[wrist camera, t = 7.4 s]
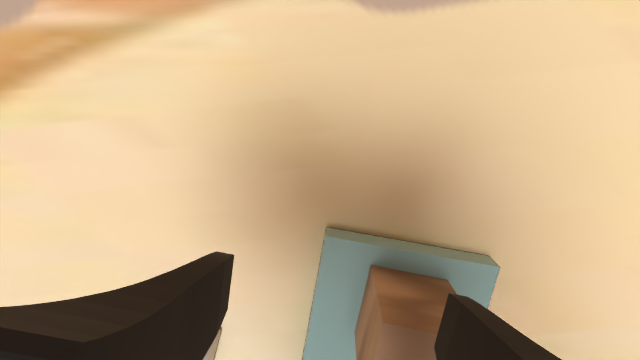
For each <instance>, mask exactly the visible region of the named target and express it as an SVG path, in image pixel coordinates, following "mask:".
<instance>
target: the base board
mask: <svg viewBox="0 0 640 360" xmlns="http://www.w3.org/2000/svg"><path fill="white" fill-rule="evenodd" d="M370 265H375V266H380V267H385V268H390V269H395V270H401V271H406V272H411V273H416V274H421V275H426V276H431V277H436V278H441V279H446V280H448V281H449V282H450V284H451V286H452V287H453V289H454V290H455V292H456V294H457V295H462V296H467V297H469V298H471V299H473V300H475V301H476V302H478V303H479V304H481V305H482V306H484V307H485V308H487V309H488V306H489V302H490V299H491V296H492V293H493V289H494V286H495V283H496V279H497V276H498V273H499V269H500V266H499V265H498V264H497V263H496V262H495V261H494V260H493V259H492V258H491V257H490V256H486V255H481V254H475V253H469V252H464V251H458V250H452V249H447V248H441V247H435V246H430V245H424V244H418V243H413V242H407V241H401V240H396V239H390V238H385V237H379V236H373V235H368V234H362V233H356V232H351V231H345V230H339V229H334V228H328V227H326V231H325V237H324V242H323V248H322V253H321V259H320V264H319V270H318V275H317V281H316V286H315V292H314V297H313V303H312V308H311V314H310V319H309V325H308V330H307V336H306V341H305V347H304V352H303V358H302V360H356V346H355V333H354V332H355V328H356V324H357V320H358V316H359V312H360V307H361V303H362V299H363V295H364V291H365V286H366V282H367V278H368V274H369V270H370Z"/></svg>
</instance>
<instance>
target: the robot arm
mask: <svg viewBox="0 0 640 360" xmlns="http://www.w3.org/2000/svg"><path fill="white" fill-rule="evenodd" d="M233 260H234V255H232V254H227V253H221V252H214V253H211V254H208V255H206V256H204V257H201V258H199V259H197V260H195V261H193V262H190V263H188V264H186V265H183V266H181V267H179V268H177V269H174V270H172V271H169V272H167V273H164V274H161V275H159V276H156V277H154V278H151V279H149V280H146V281H143V282H140V283H137V284H134V285H130V286H127V287H123V288H120V289H116V290H112V291H108V292H103V293H99V294H94V295H89V296H84V297H80V298H75V299H69V300H62V301H56V302H49V303H41V304H32V305H23V306H11V307H0V360H203V359H204V357H205V355H206V353H207V352H208V350H209V348H210V346H211V345H212V343H213V341H214V339H215V338H216V336H217V334H218V331H219V329H220V326H221V324H222V322H223V319H224V317H225V314H226V312H227V309H228V301H229V292H230V284H231V276H232V268H233ZM434 349H435V354H436V359H437V360H561V359H560V358H558V357H556V356H555V355H553V354H552V353H550V352H549V351H547V350H546V349H544V348H543V347H541V346H540V345H538V344H536V343H535V342H533V341H532V340H531V339H529V338H528V337H526V336H525V335H523V334H522V333H520V332H519V331H518V330H516V329H515V328H513V327H512V326H510V325H509V324H508V323H506V322H505V321H503V320H502V319H501V318H499V317H498V316H496V315H495V314H494V313H492V312H491V311H489V310H488V309H487V308H485V307H484V306H482V305H481V304H479V303H478V302H476V301H475V300H473V299H471V298H469V297H467V296H462V295H456V294H451V293H449V294H448V297H447V301H446V305H445V308H444V312H443V316H442V319H441V323H440V327H439V330H438V334H437V338H436V341H435V345H434Z"/></svg>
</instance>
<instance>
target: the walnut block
mask: <svg viewBox="0 0 640 360" xmlns="http://www.w3.org/2000/svg"><path fill="white" fill-rule="evenodd" d="M449 293H451V294H456V292H455V290H454V289H453V287H452V286H451V284H450V282H449V281H448V280H446V279H441V278H436V277H431V276H426V275H421V274H416V273H411V272H406V271H401V270H395V269H390V268H385V267H380V266H375V265H370V270H369V274H368V278H367V282H366V286H365V291H364V295H363V299H362V303H361V307H360V312H359V316H358V320H357V324H356V328H355V332H354V333H355V346H356V360H437V359H436V354H435V349H434V345H435V341H436V338H437V334H438V330H439V327H440V323H441V319H442V316H443V312H444V308H445V305H446V301H447V297H448V294H449ZM456 295H457V294H456Z"/></svg>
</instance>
